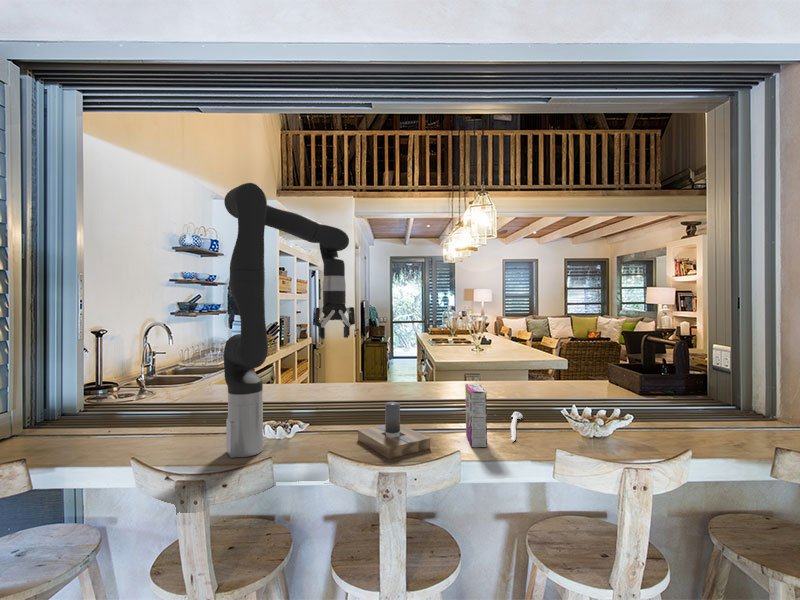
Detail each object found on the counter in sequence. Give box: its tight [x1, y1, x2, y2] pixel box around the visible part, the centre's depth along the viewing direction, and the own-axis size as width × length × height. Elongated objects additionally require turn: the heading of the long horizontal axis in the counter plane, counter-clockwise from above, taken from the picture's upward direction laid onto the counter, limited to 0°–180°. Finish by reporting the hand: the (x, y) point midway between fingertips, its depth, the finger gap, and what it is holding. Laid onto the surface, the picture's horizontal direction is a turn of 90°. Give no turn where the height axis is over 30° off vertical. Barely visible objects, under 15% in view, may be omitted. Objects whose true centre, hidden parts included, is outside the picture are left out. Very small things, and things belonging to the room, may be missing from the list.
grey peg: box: [384, 401, 401, 438], centre depth 122 cm, size 4×4×12 cm
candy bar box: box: [464, 383, 488, 448], centre depth 124 cm, size 11×5×16 cm, turn 179°
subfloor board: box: [357, 423, 431, 460], centre depth 122 cm, size 14×18×3 cm
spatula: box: [510, 411, 524, 441], centre depth 136 cm, size 28×4×3 cm, turn 164°
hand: (334, 338), depth 138 cm, fingers open, 8 cm apart
